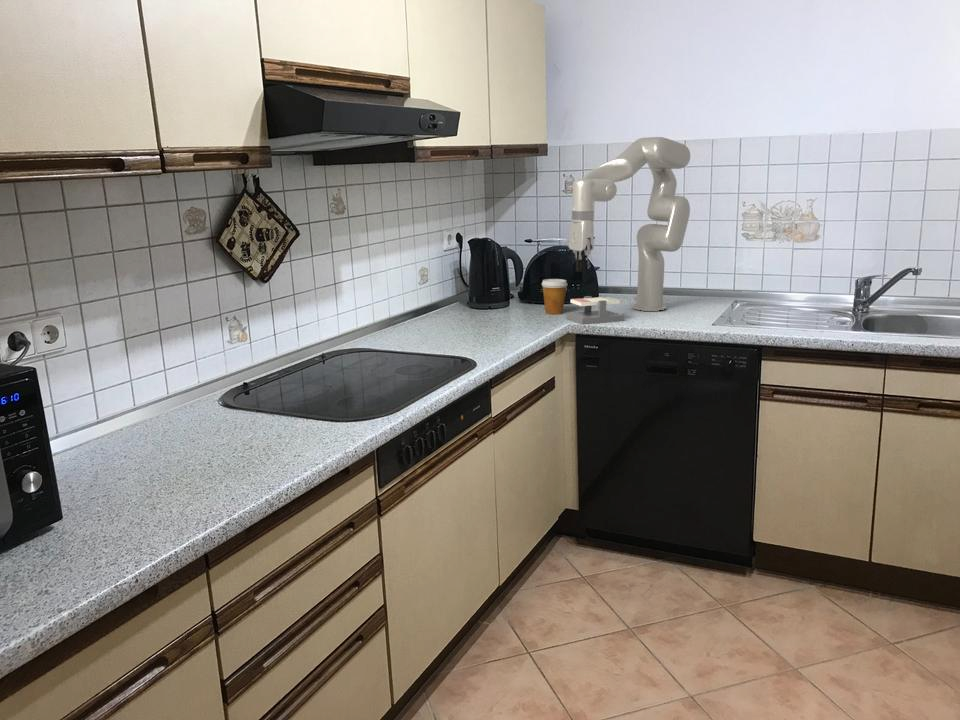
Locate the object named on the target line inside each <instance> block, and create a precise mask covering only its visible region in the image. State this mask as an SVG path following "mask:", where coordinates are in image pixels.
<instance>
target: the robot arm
mask: <svg viewBox="0 0 960 720" xmlns="http://www.w3.org/2000/svg"><path fill="white" fill-rule="evenodd" d="M690 160H691V152H690V149H689V147H688V146H687V145H686V144H684V143H681V142H678V141H675V140H673V139H669V138H666V137H663V136H652V137H651V136H650V137H640V138H638V139H636V140H635V141H633V142H632V143H631V144H630V145H629V146H627V148H626V149H624V150H623V151H622V152H621V153H620V154H619V155H618V156H616V158H614V159H611V160H609V161H608V162H605V163H603V164H602V165H601V164H600V165H599V166H597V167H595V168H593V169H592V170H591V171H589V172H588V173H587V174H585V175H584V176H583V178H581V179H575V180H573V182H572V195H571V196H572V199H571V200H572V201H571V222H570V227H569V235H568V236H569V237H568V249H569V250H572V253H573V254H574V255H575V256H574V258H575V271H576V272H586V271H587V260H588V257H589V256H590V255H591V253H592V252H591V251H593V250H594V245H595V242H594V241H595V230H594V221H595V202H597V203H598V202H604V203H605V202H609V201H612V200H613V199H615V197H616V195H617V192H618V190H617V189H618V187H617V185H616V184H615V183H617V182H622V181H625V180H629V179H630V178H632V177H634V175H635V174H637V172H638V171H640V170H641V169H642V167H644V166H645V165H646V164H647V166H648V168H649V170H650V172H651V174H652V177H653V178H652V179H653V184H652V188H651V193H650V197H649V202H648V206H647V209H646V211H647V213H646V214H647V217H648V219H650V220H652V221H654V222H666V223H667V224H661V223H660V224H659V223H657V224H656V223H649V224H644V225H642V226H640V228H639V229H638V230H637V233H636V245H637V251H638V268H637V292H636V296H634V297H633V300H634V301H636V303H634V304H632V307H631V308H632V309H633V310H635V309H636V310H637V311H640V310H641V312H642V311H643V312H660V311H659V310H663V311H665V310H664V309H666V310H667V305H665V304H663V301H664V299H663V298H664V282H665V281H664V280H665V278H664V277H665V258H664V255H663V253H662V252H668V253H669V252H670V253H672V252H677V251H678V250H679V249H680V248H681V247H682V245H683V242H684V239H685V236H686V231H687V228H688V223H689V219H690V215H691V205H690V202H689V200H688V199H687V197H685V196H682V195H676V192H677V187H678V186H677V185H678V183H677V178H676V175H675V173H674V171H673V170H675V169H676V170H679V169H681V170H682V169H684V168H685V167H687V166H688V164H689V163H690Z"/></svg>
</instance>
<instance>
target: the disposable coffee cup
mask: <svg viewBox="0 0 960 720" xmlns="http://www.w3.org/2000/svg"><path fill="white" fill-rule="evenodd" d="M541 286H542V291H543V292H542V293H543V301H544V302H543V303H544V310H545V311H544V312H545V314H547V315H562V314H563V312H564V307H565V299H566V298H565V297H566V292H567V287H568V282H567V280H566V279H561V278H547V279H542V282H541Z"/></svg>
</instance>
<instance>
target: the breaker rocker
mask: <svg viewBox="0 0 960 720" xmlns="http://www.w3.org/2000/svg"><path fill="white" fill-rule="evenodd" d="M602 300H605V301H606V305H617V304H618V305H619V304H620V303H621V302H620V301H621V300H620V299H619V298H614V297H611V296H600V297H592V298H584V297H583V298H581V297H580V298H570V303H569V304H573V305H576V306H578V307H584V306H591V307H592V306H598V301H602Z"/></svg>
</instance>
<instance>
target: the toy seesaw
mask: <svg viewBox="0 0 960 720" xmlns="http://www.w3.org/2000/svg"><path fill="white" fill-rule="evenodd" d="M583 298H593V297H592V296H591V295H589V296H588V295H587V296H584V297H583ZM597 306H598V309H597V310H592V306H583V311H576V312H575V311H574V312H566V315H565V318H566V320H569V321H572V322H575V323H578V324H580V325H590V324H603V323H614V322H616V323H617V322H624V315H623V314H621V313H620V314H619V313H618V312H614V311H610V310H607V304H606V301H605V300H602V301H598V305H597Z"/></svg>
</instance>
